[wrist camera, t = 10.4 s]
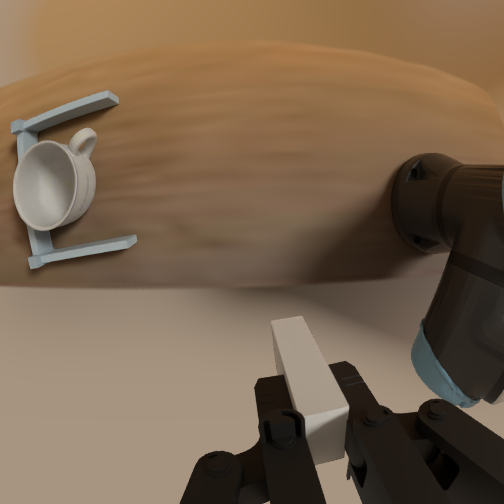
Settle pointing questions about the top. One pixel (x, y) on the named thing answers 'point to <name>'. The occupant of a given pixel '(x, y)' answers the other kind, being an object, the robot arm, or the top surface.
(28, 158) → the teacup
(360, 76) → the top surface
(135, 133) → the top surface
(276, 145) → the top surface
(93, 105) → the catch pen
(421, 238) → the robot arm
